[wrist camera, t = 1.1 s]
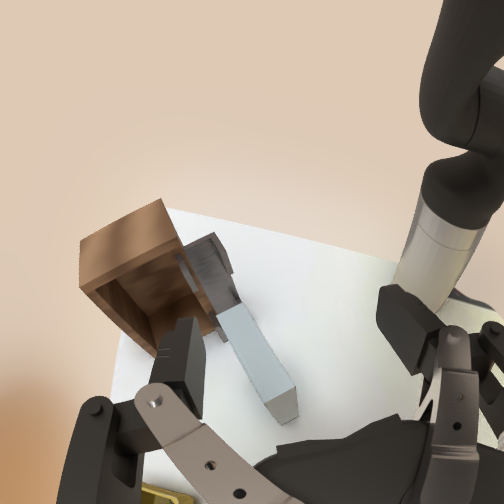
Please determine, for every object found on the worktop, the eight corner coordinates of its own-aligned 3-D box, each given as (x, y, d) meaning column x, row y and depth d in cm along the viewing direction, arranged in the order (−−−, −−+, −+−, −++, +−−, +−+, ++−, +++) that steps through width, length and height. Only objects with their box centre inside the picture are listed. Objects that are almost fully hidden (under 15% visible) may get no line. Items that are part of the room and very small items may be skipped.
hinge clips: (243, 311, 39) (214, 231, 28) (253, 327, 37) (225, 250, 26) (215, 325, 39) (173, 251, 27) (224, 342, 36) (181, 271, 25)
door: (267, 365, 33) (242, 302, 22) (298, 416, 28) (295, 386, 16) (250, 374, 33) (215, 315, 21) (280, 425, 27) (263, 403, 16)
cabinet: (204, 287, 44) (161, 198, 31) (223, 325, 38) (176, 236, 25) (143, 317, 41) (80, 240, 28) (155, 358, 36) (79, 287, 23)
